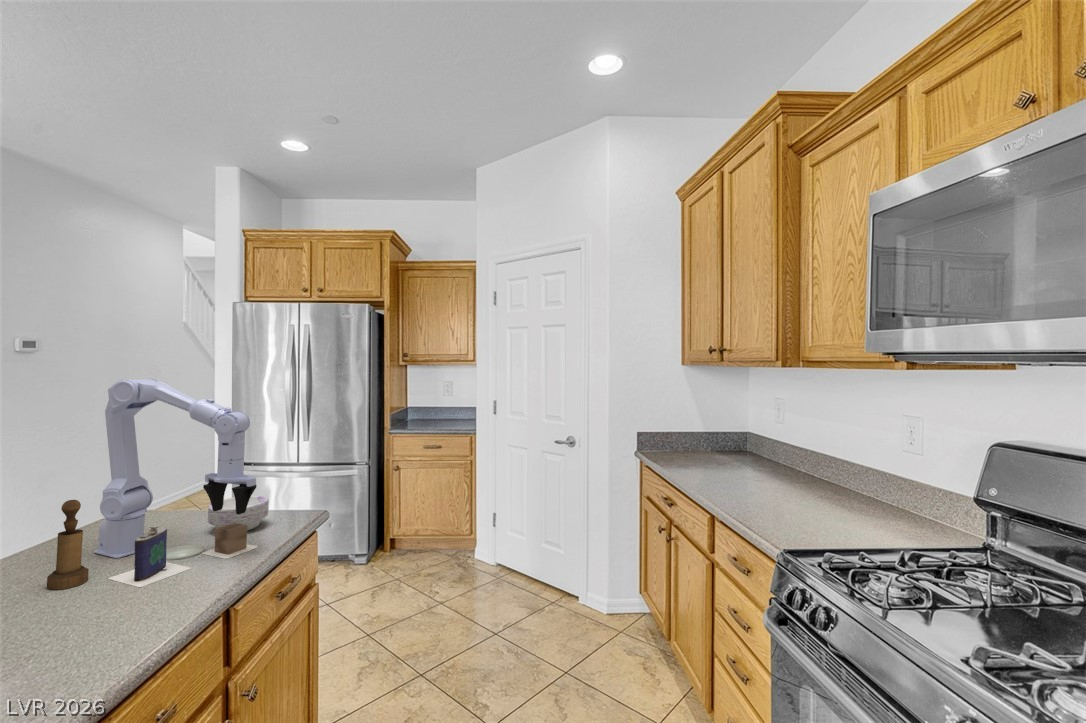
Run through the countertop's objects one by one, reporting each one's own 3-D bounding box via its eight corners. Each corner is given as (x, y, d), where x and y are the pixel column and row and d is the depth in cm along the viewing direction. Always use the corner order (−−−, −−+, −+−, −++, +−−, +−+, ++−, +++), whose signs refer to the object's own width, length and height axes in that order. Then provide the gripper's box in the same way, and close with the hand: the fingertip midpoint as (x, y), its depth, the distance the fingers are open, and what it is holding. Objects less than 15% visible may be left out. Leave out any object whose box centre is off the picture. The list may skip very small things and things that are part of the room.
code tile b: (201, 553, 124) (201, 553, 124) (234, 542, 132) (234, 541, 132) (226, 559, 121) (226, 558, 121) (258, 547, 129) (258, 546, 129)
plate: (152, 556, 121) (152, 554, 121) (189, 544, 130) (189, 542, 130) (176, 562, 118) (176, 559, 118) (212, 549, 127) (212, 547, 127)
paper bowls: (204, 526, 144) (205, 499, 145) (262, 517, 154) (263, 492, 154) (210, 541, 133) (211, 511, 133) (272, 530, 142) (273, 503, 143)
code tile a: (107, 578, 108) (107, 578, 108) (161, 561, 119) (161, 560, 119) (139, 587, 104) (139, 587, 104) (192, 568, 115) (192, 567, 115)
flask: (157, 565, 116) (159, 519, 116) (170, 564, 116) (172, 519, 116) (130, 582, 107) (132, 533, 107) (144, 581, 107) (146, 532, 107)
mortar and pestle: (95, 580, 108) (98, 498, 108) (58, 592, 101) (62, 505, 102) (76, 575, 110) (80, 495, 110) (39, 587, 104) (42, 502, 104)
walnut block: (214, 551, 125) (215, 528, 125) (232, 545, 130) (233, 522, 130) (228, 554, 123) (229, 530, 123) (246, 548, 128) (247, 525, 128)
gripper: (194, 459, 124) (192, 513, 123) (240, 463, 120) (238, 519, 119) (219, 455, 130) (217, 505, 130) (263, 459, 127) (261, 511, 126)
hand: (229, 511), depth 125 cm, fingers open, 7 cm apart
